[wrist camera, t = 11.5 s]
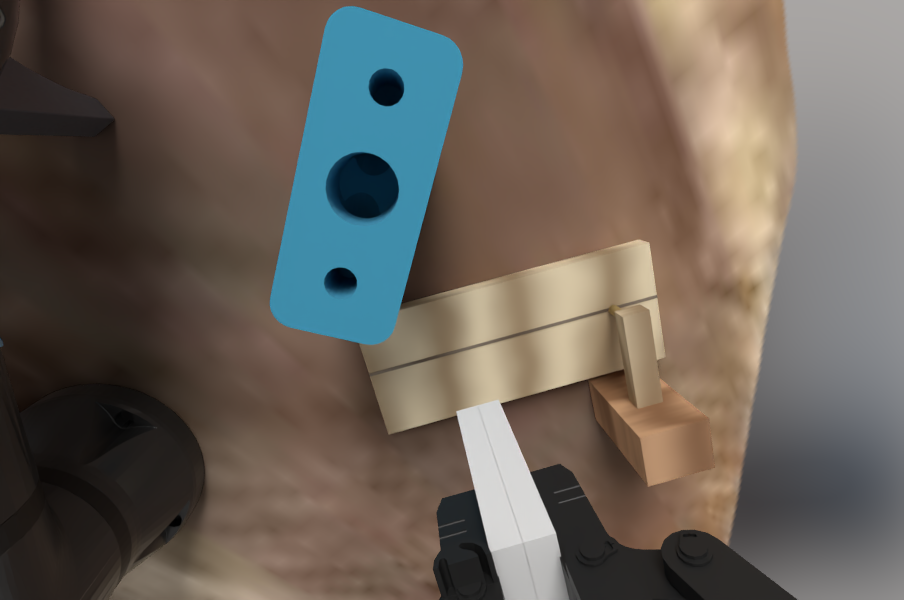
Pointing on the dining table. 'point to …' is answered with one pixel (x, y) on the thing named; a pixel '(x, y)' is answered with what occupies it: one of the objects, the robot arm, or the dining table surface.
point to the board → (510, 336)
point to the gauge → (649, 408)
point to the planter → (40, 94)
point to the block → (364, 175)
